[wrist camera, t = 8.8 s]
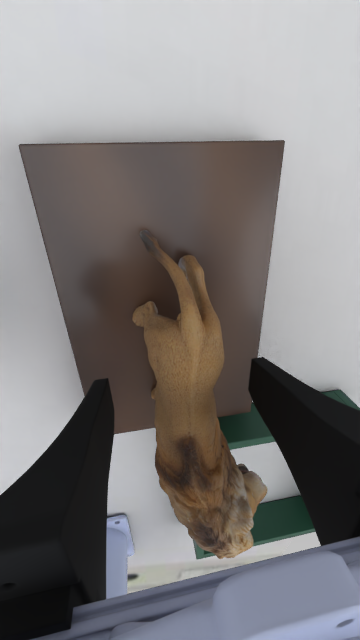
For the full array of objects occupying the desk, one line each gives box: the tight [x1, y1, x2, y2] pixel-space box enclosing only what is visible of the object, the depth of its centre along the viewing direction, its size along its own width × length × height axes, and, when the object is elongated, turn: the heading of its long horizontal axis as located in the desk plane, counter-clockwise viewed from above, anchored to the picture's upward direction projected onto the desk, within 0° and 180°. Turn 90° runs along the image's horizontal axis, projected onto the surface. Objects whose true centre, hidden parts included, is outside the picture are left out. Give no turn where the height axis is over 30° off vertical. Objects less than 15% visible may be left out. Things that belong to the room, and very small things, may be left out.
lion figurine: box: [132, 230, 267, 559], centre depth 13 cm, size 15×5×9 cm, turn 13°
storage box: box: [193, 390, 360, 559], centre depth 26 cm, size 15×18×4 cm
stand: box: [19, 140, 285, 434], centre depth 17 cm, size 12×18×2 cm, turn 1°
